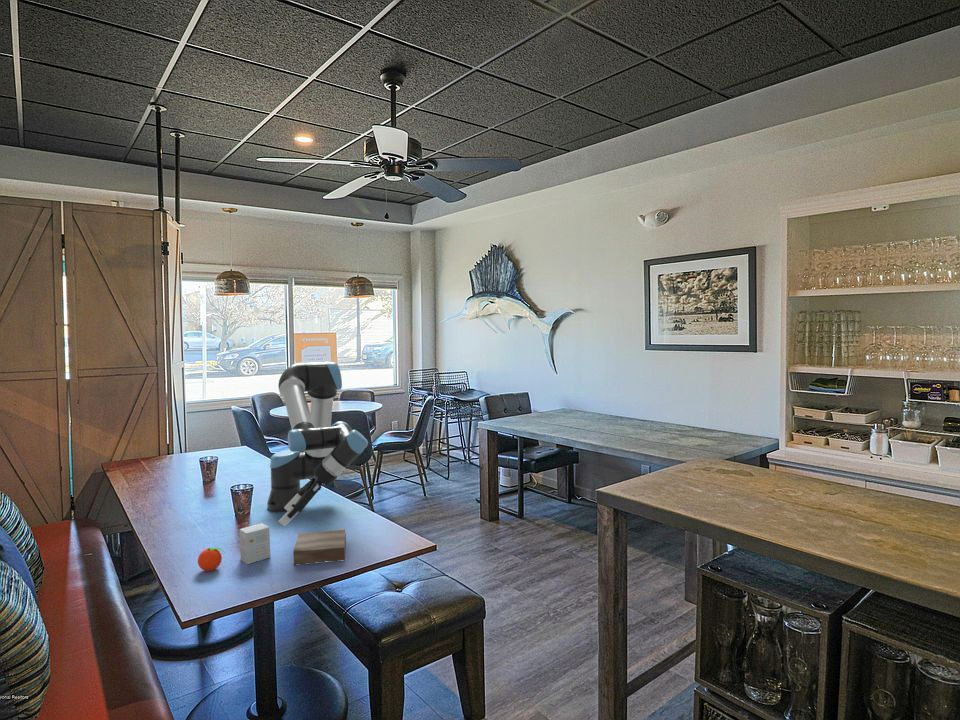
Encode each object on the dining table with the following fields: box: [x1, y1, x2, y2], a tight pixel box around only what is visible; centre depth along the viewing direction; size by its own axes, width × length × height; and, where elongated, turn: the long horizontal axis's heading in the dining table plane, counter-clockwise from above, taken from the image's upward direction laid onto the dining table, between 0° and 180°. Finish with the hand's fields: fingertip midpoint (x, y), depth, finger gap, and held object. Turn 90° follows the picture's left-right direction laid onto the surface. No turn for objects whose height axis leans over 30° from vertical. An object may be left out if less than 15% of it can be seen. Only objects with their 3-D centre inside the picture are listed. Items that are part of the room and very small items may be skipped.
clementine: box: [197, 547, 226, 572], centre depth 181 cm, size 8×7×7 cm
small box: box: [238, 522, 271, 565], centre depth 190 cm, size 8×6×10 cm
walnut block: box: [292, 529, 347, 566], centre depth 194 cm, size 16×16×5 cm
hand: (284, 516), depth 190 cm, fingers open, 13 cm apart
